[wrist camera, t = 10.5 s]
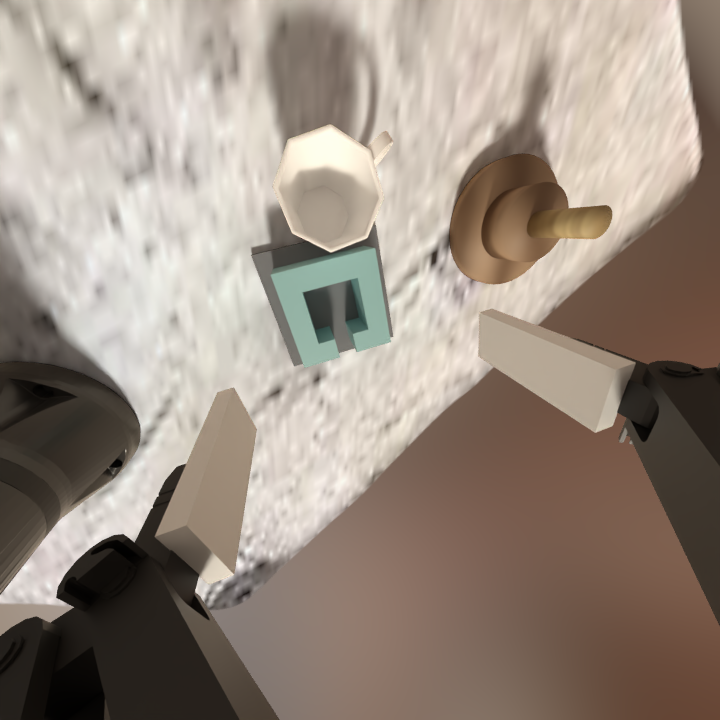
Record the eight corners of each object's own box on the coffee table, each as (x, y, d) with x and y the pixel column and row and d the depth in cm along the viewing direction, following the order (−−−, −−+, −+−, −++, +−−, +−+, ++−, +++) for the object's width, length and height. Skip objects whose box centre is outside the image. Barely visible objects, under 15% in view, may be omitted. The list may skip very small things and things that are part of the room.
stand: (451, 293, 30) (520, 319, 21) (447, 171, 25) (539, 135, 16) (539, 268, 32) (640, 282, 23) (555, 146, 26) (698, 100, 17)
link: (273, 268, 24) (270, 274, 21) (363, 245, 25) (375, 247, 22) (302, 351, 29) (304, 367, 25) (379, 328, 30) (390, 341, 26)
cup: (265, 213, 23) (246, 183, 15) (346, 127, 22) (368, 50, 14) (323, 275, 25) (331, 275, 18) (397, 199, 24) (438, 165, 17)
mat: (294, 364, 30) (294, 366, 29) (251, 254, 24) (251, 255, 23) (391, 335, 31) (393, 336, 31) (374, 225, 25) (375, 224, 25)
